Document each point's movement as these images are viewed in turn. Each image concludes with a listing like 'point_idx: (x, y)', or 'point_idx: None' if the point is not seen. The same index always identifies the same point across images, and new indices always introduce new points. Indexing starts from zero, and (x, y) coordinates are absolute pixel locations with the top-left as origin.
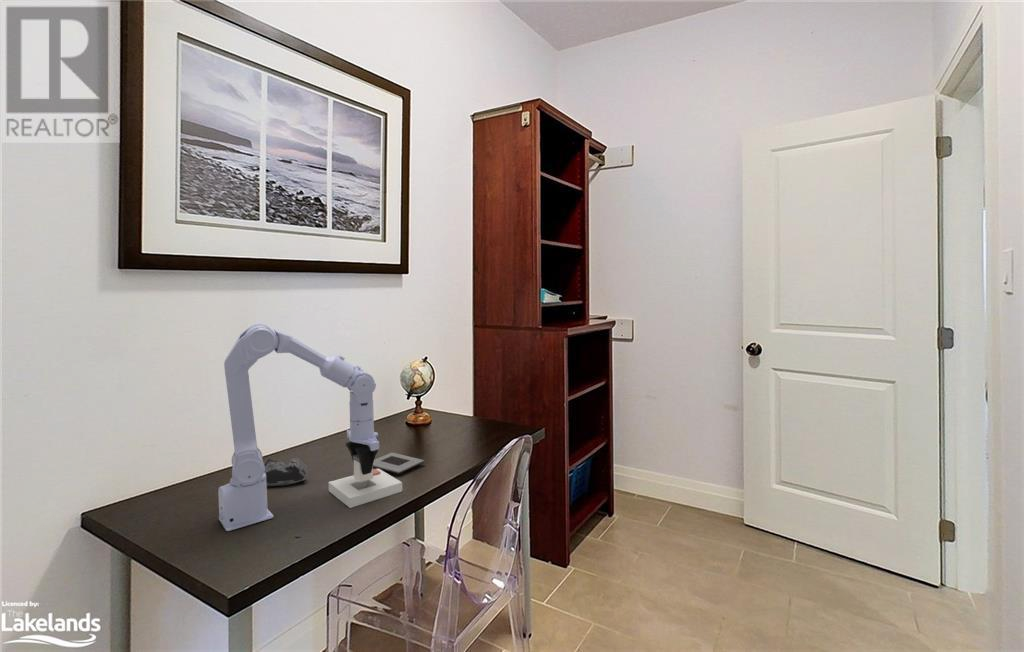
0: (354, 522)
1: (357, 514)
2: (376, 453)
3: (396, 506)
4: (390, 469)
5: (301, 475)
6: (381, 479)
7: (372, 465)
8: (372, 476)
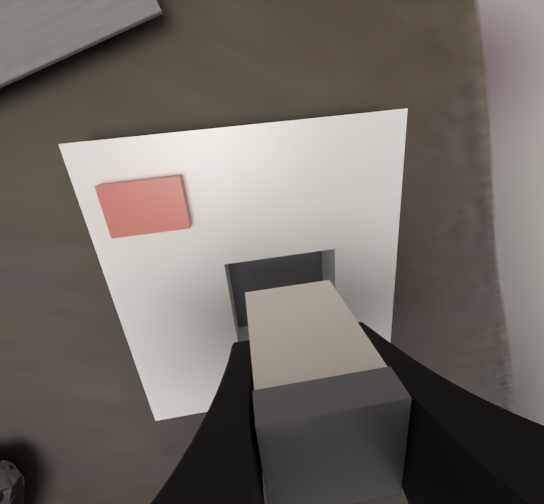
0: (471, 357)
1: (431, 339)
2: (527, 420)
3: (489, 205)
4: (72, 46)
5: (11, 501)
6: (278, 202)
7: (397, 348)
8: (333, 289)
